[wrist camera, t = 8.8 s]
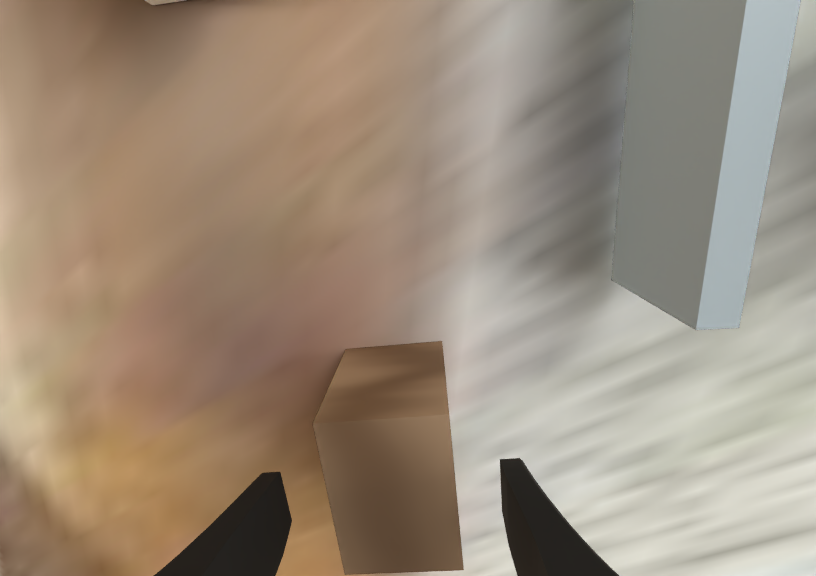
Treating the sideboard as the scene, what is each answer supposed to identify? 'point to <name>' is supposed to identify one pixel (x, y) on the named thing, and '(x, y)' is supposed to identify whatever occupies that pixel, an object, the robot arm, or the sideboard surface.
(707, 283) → the door
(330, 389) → the brown block
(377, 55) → the sideboard surface
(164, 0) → the white bracket
